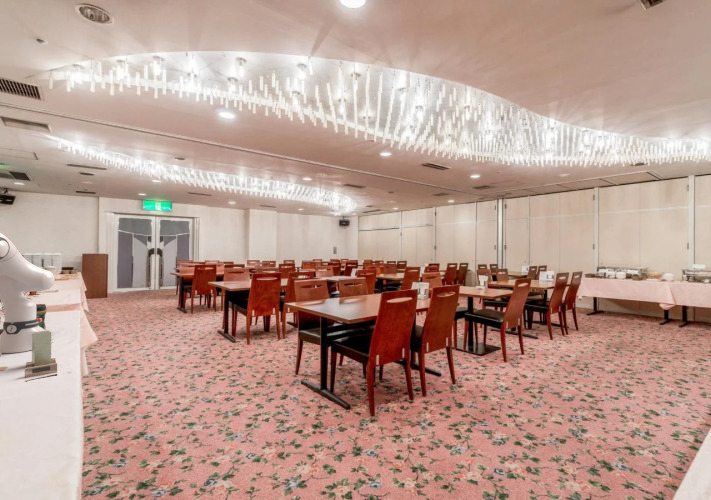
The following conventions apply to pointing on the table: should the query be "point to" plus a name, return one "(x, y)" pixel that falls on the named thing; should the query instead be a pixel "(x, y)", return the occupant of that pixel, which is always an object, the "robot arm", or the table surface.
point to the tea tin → (41, 348)
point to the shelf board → (40, 369)
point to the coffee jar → (41, 314)
